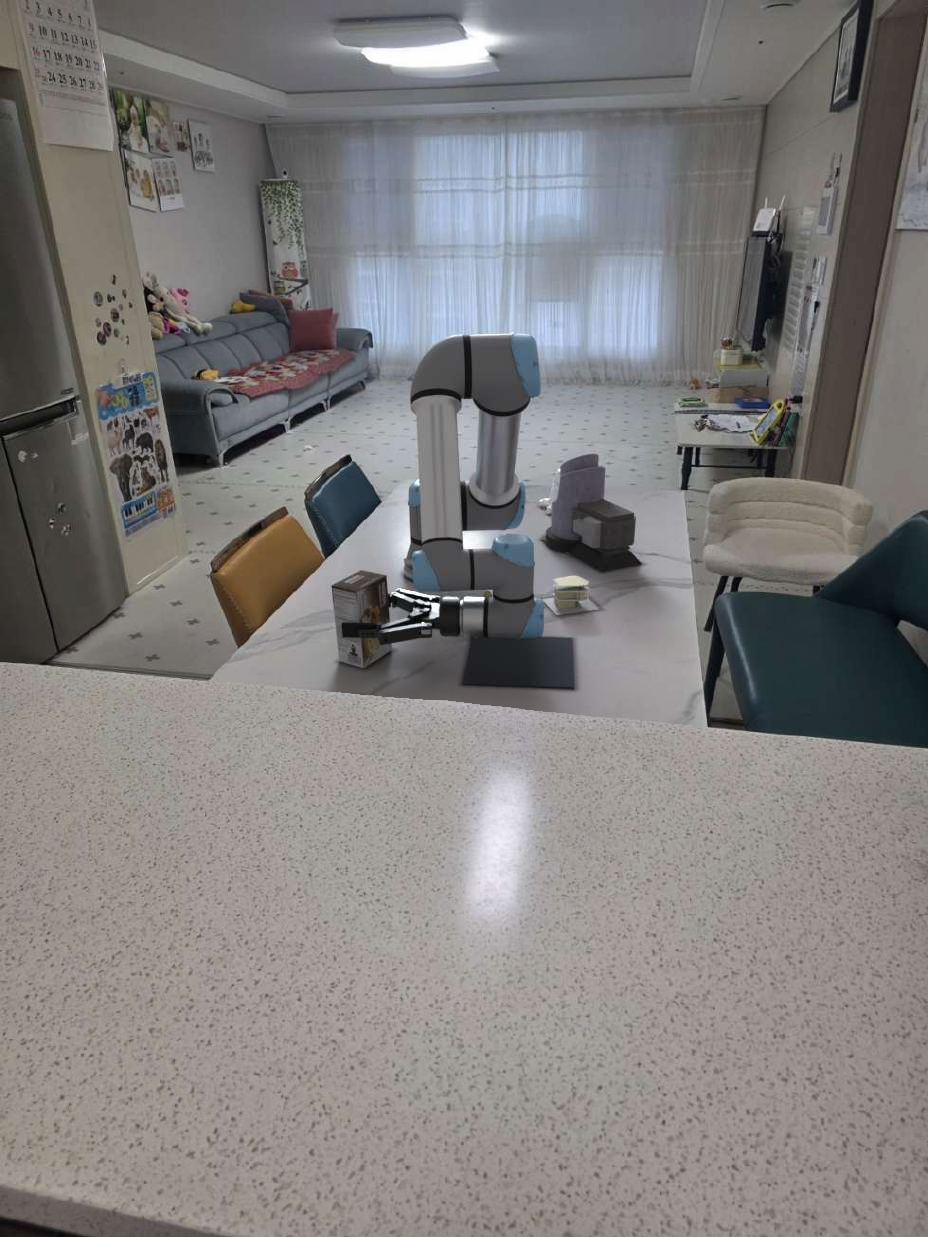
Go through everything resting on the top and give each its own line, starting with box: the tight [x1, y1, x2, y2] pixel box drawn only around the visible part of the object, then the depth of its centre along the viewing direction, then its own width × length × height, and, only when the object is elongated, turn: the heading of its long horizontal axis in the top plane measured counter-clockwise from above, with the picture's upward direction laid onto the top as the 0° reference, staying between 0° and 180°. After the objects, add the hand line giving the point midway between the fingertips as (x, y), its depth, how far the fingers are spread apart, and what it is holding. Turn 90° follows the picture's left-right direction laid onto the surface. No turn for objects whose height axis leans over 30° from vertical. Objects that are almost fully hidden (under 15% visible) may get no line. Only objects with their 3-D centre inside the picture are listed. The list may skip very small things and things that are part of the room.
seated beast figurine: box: [539, 468, 560, 515], centre depth 240 cm, size 10×9×12 cm
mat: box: [462, 636, 575, 690], centre depth 157 cm, size 20×20×1 cm
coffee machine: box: [540, 453, 643, 573], centre depth 206 cm, size 30×16×24 cm, turn 25°
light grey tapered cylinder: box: [447, 590, 493, 600], centre depth 174 cm, size 11×8×8 cm
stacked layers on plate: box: [541, 575, 600, 616], centre depth 179 cm, size 10×9×6 cm
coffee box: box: [331, 569, 393, 669], centre depth 157 cm, size 9×6×16 cm
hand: (350, 614), depth 156 cm, fingers open, 13 cm apart
